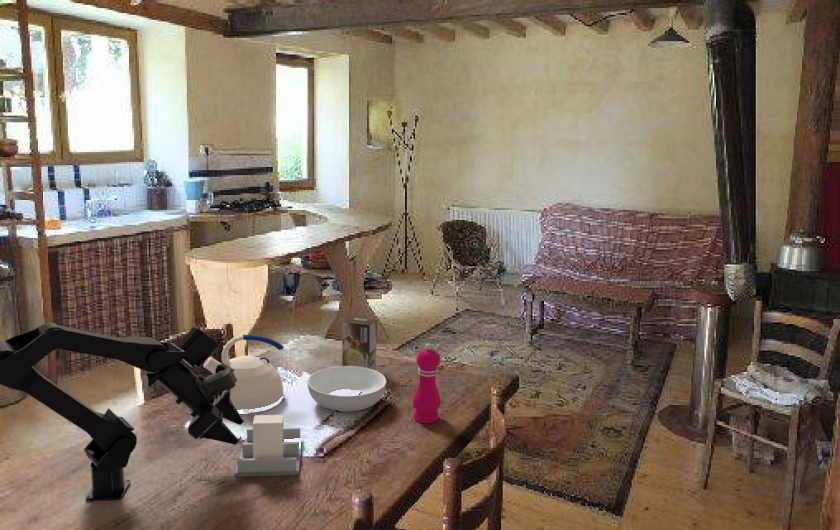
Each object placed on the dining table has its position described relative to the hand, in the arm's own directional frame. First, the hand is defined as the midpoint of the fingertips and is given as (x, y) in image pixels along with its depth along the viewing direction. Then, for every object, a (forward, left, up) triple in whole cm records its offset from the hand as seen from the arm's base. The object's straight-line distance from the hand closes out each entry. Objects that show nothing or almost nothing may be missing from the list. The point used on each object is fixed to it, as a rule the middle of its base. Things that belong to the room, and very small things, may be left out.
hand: (239, 432), depth 137 cm
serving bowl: (+33, -23, -8) cm, 41 cm away
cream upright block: (0, -6, -7) cm, 9 cm away
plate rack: (+4, -6, -8) cm, 11 cm away
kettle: (+37, +4, -8) cm, 38 cm away
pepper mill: (+23, -43, -8) cm, 49 cm away
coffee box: (+57, -27, -8) cm, 63 cm away
